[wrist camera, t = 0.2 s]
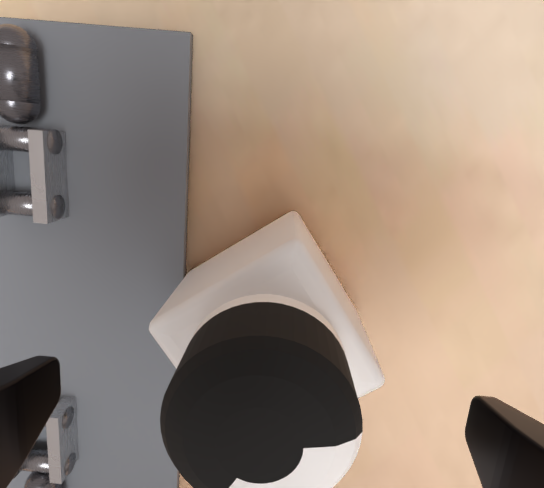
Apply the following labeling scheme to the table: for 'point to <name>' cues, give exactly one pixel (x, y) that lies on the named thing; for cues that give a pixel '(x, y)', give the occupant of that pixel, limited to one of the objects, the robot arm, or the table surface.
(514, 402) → the table surface
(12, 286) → the rubber mat
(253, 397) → the medicine bottle
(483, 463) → the robot arm
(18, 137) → the chain ends
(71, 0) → the table surface
